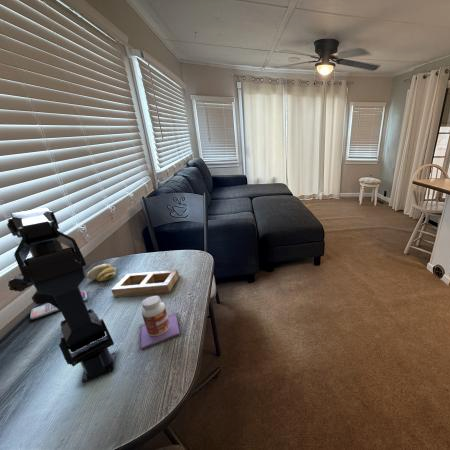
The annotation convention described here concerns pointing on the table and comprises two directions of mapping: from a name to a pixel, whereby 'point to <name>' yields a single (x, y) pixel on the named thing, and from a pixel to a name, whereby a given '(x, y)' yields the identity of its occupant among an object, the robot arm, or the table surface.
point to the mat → (172, 331)
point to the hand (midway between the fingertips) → (71, 303)
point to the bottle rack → (145, 283)
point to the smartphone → (48, 308)
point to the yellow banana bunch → (101, 272)
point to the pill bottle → (155, 316)
